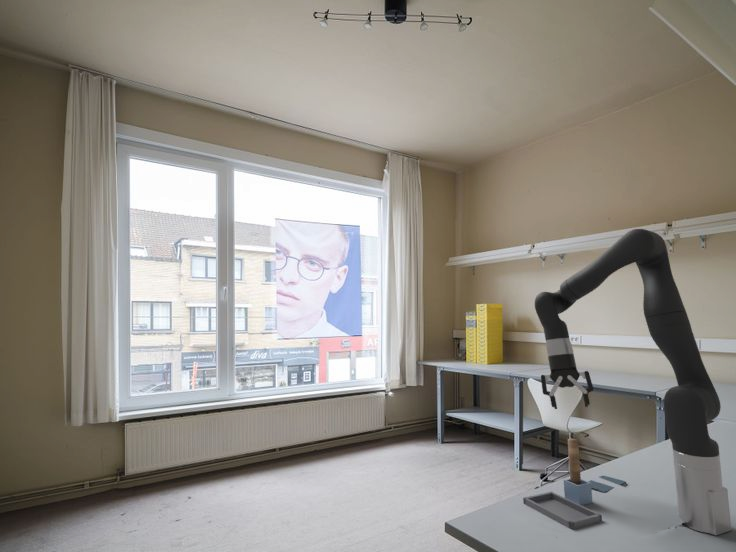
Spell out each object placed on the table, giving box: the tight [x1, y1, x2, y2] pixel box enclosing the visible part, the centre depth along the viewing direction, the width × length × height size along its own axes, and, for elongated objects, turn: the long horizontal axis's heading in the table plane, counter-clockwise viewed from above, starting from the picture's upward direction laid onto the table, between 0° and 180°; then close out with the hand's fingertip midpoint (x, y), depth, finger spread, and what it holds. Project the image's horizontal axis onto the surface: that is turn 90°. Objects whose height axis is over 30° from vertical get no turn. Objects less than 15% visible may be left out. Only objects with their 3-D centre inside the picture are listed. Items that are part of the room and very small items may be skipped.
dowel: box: [567, 438, 582, 485], centre depth 118 cm, size 3×3×16 cm
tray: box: [522, 491, 603, 530], centre depth 111 cm, size 16×10×2 cm, turn 22°
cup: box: [563, 478, 593, 506], centre depth 117 cm, size 5×5×6 cm
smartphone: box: [587, 475, 627, 494], centre depth 129 cm, size 8×2×15 cm
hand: (571, 408), depth 130 cm, fingers open, 8 cm apart
